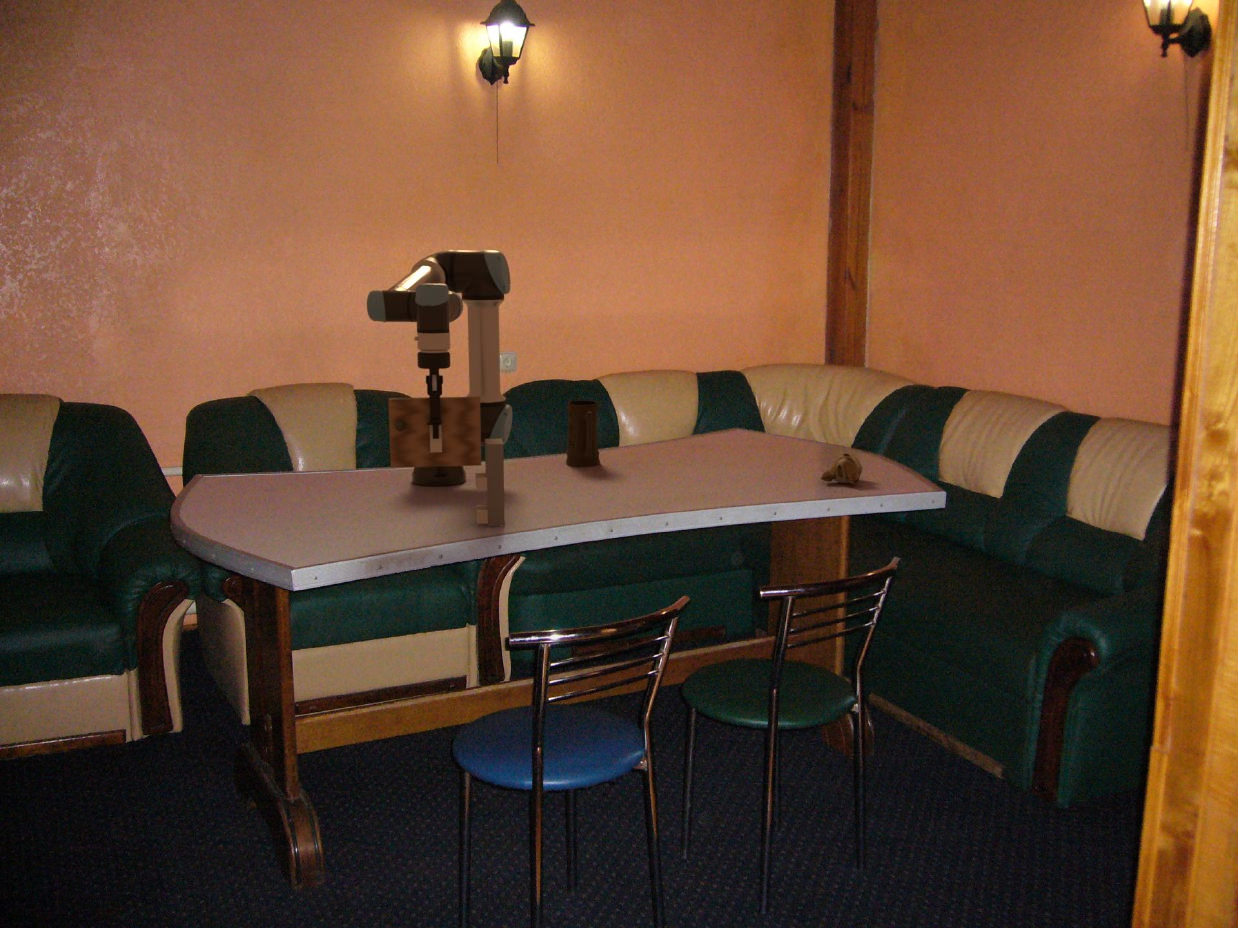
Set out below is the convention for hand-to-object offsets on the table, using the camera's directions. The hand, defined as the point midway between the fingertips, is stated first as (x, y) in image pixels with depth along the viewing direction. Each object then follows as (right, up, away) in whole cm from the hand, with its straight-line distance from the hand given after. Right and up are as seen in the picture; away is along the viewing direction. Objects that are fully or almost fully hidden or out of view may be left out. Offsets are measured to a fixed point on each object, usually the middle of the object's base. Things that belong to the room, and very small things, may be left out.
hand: (436, 450), depth 253 cm
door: (0, -4, +1) cm, 4 cm away
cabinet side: (+12, -18, +7) cm, 22 cm away
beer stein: (+33, -4, +77) cm, 84 cm away
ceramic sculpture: (+108, -9, +55) cm, 122 cm away
